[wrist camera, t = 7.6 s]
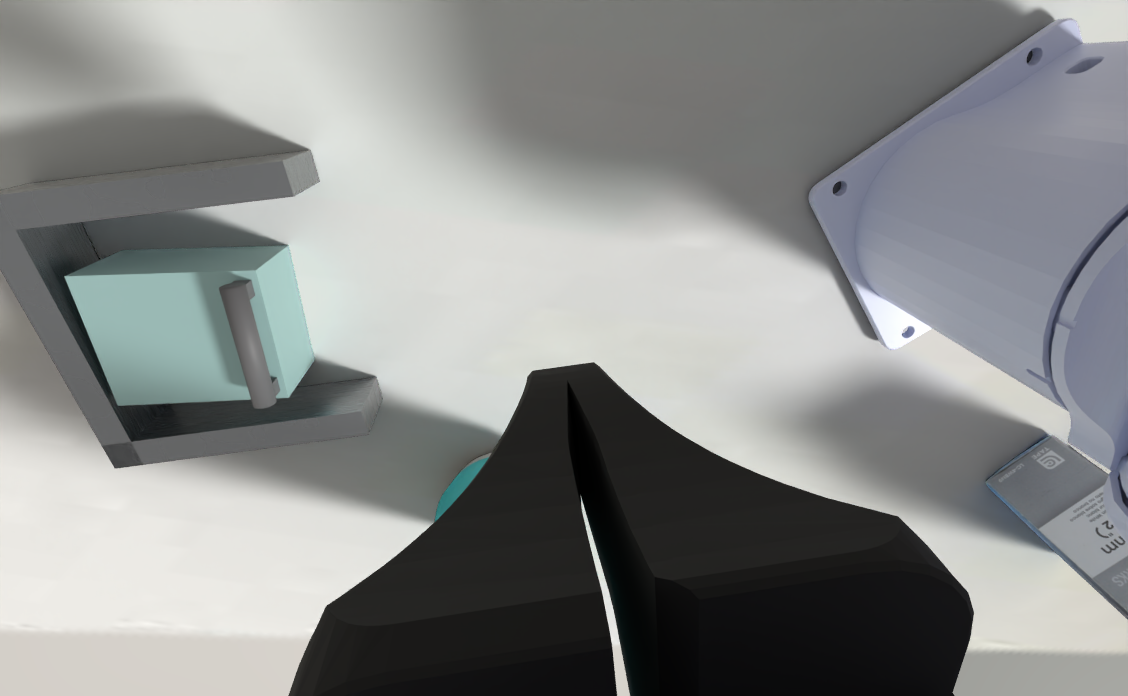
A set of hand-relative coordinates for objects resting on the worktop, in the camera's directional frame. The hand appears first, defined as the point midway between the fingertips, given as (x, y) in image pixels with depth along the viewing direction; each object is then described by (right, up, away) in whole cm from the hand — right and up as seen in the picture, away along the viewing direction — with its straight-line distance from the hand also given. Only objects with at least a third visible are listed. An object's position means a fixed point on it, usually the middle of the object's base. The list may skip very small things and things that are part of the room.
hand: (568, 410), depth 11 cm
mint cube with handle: (-12, +3, +9) cm, 16 cm away
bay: (-12, +3, +9) cm, 15 cm away
